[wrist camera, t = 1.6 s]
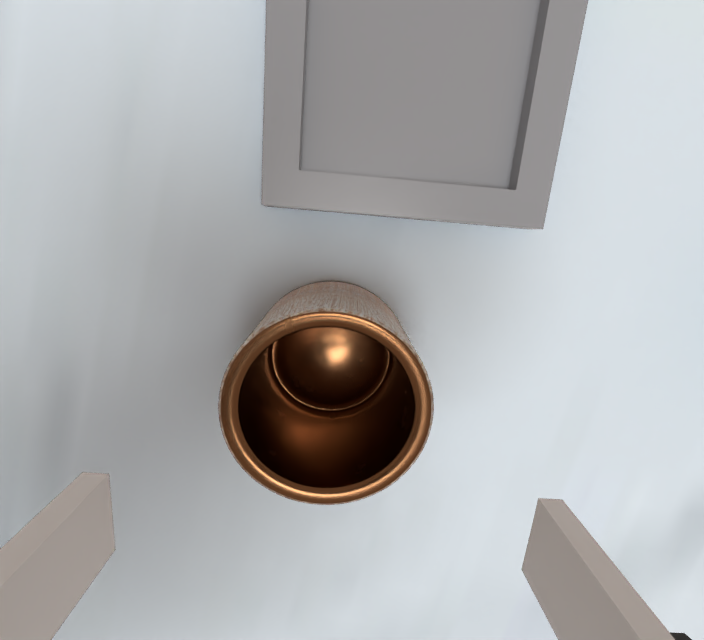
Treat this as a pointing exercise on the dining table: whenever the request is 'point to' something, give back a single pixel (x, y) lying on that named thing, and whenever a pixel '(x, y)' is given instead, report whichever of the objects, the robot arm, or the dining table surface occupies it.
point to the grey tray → (417, 106)
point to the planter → (326, 397)
